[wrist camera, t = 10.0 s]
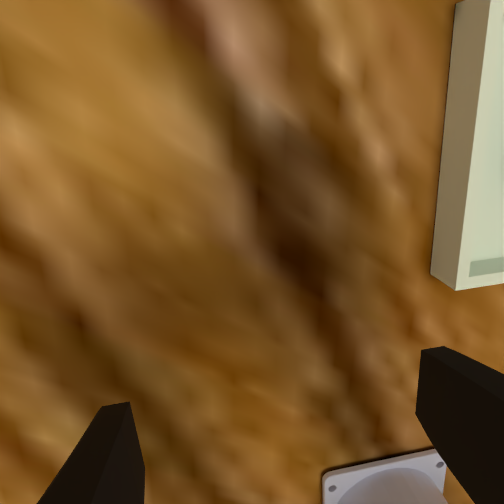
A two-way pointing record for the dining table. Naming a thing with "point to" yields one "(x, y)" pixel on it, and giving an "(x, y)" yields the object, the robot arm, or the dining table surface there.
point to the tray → (472, 153)
